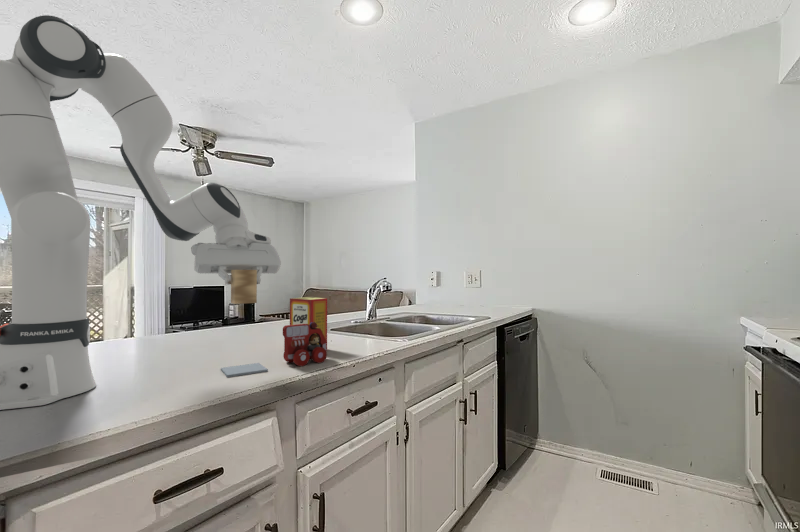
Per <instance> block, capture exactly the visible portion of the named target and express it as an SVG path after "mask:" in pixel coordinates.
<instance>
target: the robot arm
mask: <svg viewBox="0 0 800 532" xmlns="http://www.w3.org/2000/svg"><path fill="white" fill-rule="evenodd" d="M99 51H100V52H99ZM100 53H101V54H100ZM79 89H81V91H83V92H85V93H87V94H89V95H90V96H92V97H93V98H94V99H96V101H98V102H99V103H100V104H102V106H103V108H104V109H105V111H106V112H107V113H108V115H109V116H110V118H112V120H113V121H114V123H115V124H116V126H117V127H118V130H119V132H120V135H121V136H120V137H121V142H122V143H121V145H120V148H119V150H120V154H121V156H122V159H123V161H124V163H125V165H126V166H127V168H128V170H129V173H131V176H132V177H133V179H134V181H135V182H136V184H137V186H138V188H139V189H140V191H141V193H142V194H143V196H144V199H146V201H147V203H148V204H149V206H150V208H151V210H152V212H153V213H154V216H155V218H156V221H157V223H158V225H159V228H160V229H161V231H162V232H163V233H164V234H165V236H166V237H168V238H170V239H173V240H175V241H182V242H187V241H190V240H192V239H193V238H194V237H197V235H200V233H202V232H203V231H205V230H207V229H209V228H210V227H212V229H213V232H214V233H215V235H214V237H215V239H214V240H215V242H207V243H206V242H205V243H204V242H198V243H195V244H193V245H192V246H191V248H190V249H191V254H192V255H193V256H194V262H193V263H194V264H193V265H194V266H193V269H194V271H195V272H196V273H197V274H218V277H220V278H221V279H222V280H223V281H224V283H225V286H226V285H230V286H231V284H232V282H233V278H232V275H231V270H257V285H261V279H262V278H261V276H262V275H263V274H277V273H278V272H279V271H280V269H281V264H282V261H281V258H280V255H279V253H278V251H277V249H276V248H275V246H273V245H272V244H271V243H272V239H271V238H270V237H269V236H266V235H262V234H258V233H256V232H253V231H250V230H249V224H248V220H247V217H246V215H245V213H244V210H243V208H242V207H241V205H240V203H239V201H238V200H237V197H236V196H235V195H234V194H233V193H232V192H231V190H230V189H228V188H227V187H226V186H224V185H222V184H219V183H215V182H207V183H205V184H202V185H200V186H199V187H197V188H194V189H193V190H192V191H190V192H189V193H186V194H185V195H183V196H181V197H179V198H178V199H175V200H172V199H171V197H170V195H168V193H167V191H166V189H165V187H164V185H163V184H162V182H161V180H160V177H159V176H158V175H157V172H156V170H155V161H156V158H157V157H158V154H159V153H160V151H161V150H162V149H163V147H164V146H165V145H166V143H167V142H168V141H169V138H170V136H171V134H172V131H173V118H172V115H171V113H170V112H169V110H168V107H167V106H166V105H165V103H164V101H163V100H162V98H161V97H160V96H159V94H158V93H157V92H156V91H155V89H154V88H153V87H152V85H151V84H150V83H149V81H147V79H146V78H145V77H144V76H143V75H142V73H140V72H139V70H138V69H137V68H136V67H135V66H134V65H133V64H132V63H131V62H130V61H129V60H128V59H127V58H125V57H124V56H122V55H119V54H116V53H104V51H103V50H102V48H101V46H100V45H99V44H97V43H96V42H95V41H93V40H91V39H90V38H89V37H88V35H86V34H85V33H84V32H83V31H82V30H81V29H80V28H79V27H77V26H76V25H74V24H72V23H71V22H69V21H67V20H65V19H63V18H61V17H58V16H54V15H48V14H47V15H46V14H45V15H43V14H42V15H39V16H35V17H33V18H31V19H30V20H28V21H27V22H26V23H25V24H24V25H22V27H21V29H20V33H19V36H18V38H17V40H16V42H15V44H14V48H13V53H12V58H10V59H0V192H1V194H2V196H3V199H4V202H5V205H6V207H7V210H8V213H9V217H10V220H11V221H10V222H11V223H10V224H11V225H10V226H11V227H10V228H11V229H10V230H11V231H10V232H11V233H10V234H11V238H10V239H11V242H10V244H11V246H10V247H11V322H10V323H4V324H2V325H0V411H1V410H3V411H4V410H11V409H20V408H30V407H38V406H39V407H40V406H44V405H49V404H51V403H54V402H56V401H59V400H63V399H65V398H69V397H72V396H76V395H79V394H82V393H85V392H89V391H90V390H92V389H95V387H96V386H97V383H96V380H95V378H94V375H93V371H92V367H91V362H90V356H89V348H88V346H89V345H90V343H91V324H90V319H89V318H88V315H87V310H88V272H89V258H90V256H89V255H90V243H91V242H90V239H91V218H90V214H89V211H88V209H87V208H86V206H85V205H84V204H83V203H82V202H80V200H79V199H78V196H77V192H76V188H75V184H74V181H73V180H74V179H73V176H72V171H71V167H70V163H69V159H68V156H67V153H66V150H65V147H64V142H63V140H62V138H61V134H60V131H59V127H58V124H57V122H56V119H55V115H54V114H53V111H52V108H51V102H54V101H61V100H66V99H68V98H70V97H72V96H74V95H75V94H76V93H77V92H78V91H79Z"/></svg>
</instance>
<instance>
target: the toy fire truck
mask: <svg viewBox="0 0 800 532" xmlns="http://www.w3.org/2000/svg"><path fill="white" fill-rule="evenodd" d="M316 327H317V324H316V323H315V322H311V323H310V325H308V324H296V325H290V324H287V325H284V326H283V328H282V336H283V339H284V345H283V347H284V348H283V349H284V352H283V359H284V361H285V362H287V363H289V364H293V363H294V364H295V365H296V366H299V367H304V366H306V365H307V364H308V363H309V360H312V361H313V363H318V364H321V363H324V362H325V360H326V358H327V356H328V354H327V350H328V340H327V341H326V339H325V337H324V335H323V332H322V330H321V329H320V328H316ZM315 333H316V334H317V335H316V334H315ZM317 343H319V344H317ZM309 344H310V345H309Z"/></svg>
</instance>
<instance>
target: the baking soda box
mask: <svg viewBox="0 0 800 532" xmlns="http://www.w3.org/2000/svg"><path fill="white" fill-rule="evenodd" d="M311 322H315V323H316V324H317V327H316V328H320V329H321V330H322V332H323V335H324V337H325V339H326V341H327V342H328V298H327V297H310V296H305V297H293V298H289V325H296V324H308V325H310V323H311ZM315 334H316V333H315ZM316 335H317V334H316ZM317 344H319V343H317ZM309 345H310V344H309Z"/></svg>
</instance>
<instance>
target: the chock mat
mask: <svg viewBox="0 0 800 532" xmlns="http://www.w3.org/2000/svg"><path fill="white" fill-rule="evenodd" d="M220 371H221V372H222V373H223V374H224V375H225V377H226V378H231V377H232V378H233V377H239V376H245V375H252V374H259V373H267V372H268V371H269V370H268V368H266V366H264V365H262V364H261V363H260V362H255V363H249V364H240V365H239V364H238V365H232V366H225V367H220Z"/></svg>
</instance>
